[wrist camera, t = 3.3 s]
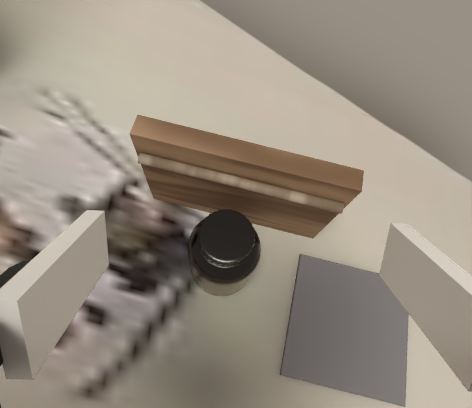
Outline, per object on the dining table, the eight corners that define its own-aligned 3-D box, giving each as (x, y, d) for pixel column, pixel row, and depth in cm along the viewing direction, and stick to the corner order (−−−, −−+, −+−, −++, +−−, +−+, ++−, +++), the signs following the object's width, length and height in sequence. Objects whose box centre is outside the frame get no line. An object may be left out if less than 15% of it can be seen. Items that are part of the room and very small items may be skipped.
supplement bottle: (260, 281, 39) (282, 258, 28) (204, 307, 37) (204, 292, 26) (235, 228, 41) (246, 187, 30) (182, 250, 39) (172, 215, 28)
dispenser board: (311, 246, 41) (360, 202, 28) (151, 205, 41) (125, 143, 28) (319, 194, 43) (367, 132, 30) (168, 157, 44) (152, 79, 31)
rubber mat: (402, 405, 35) (405, 406, 34) (280, 374, 35) (281, 375, 35) (406, 282, 40) (409, 281, 39) (299, 255, 40) (301, 254, 40)
